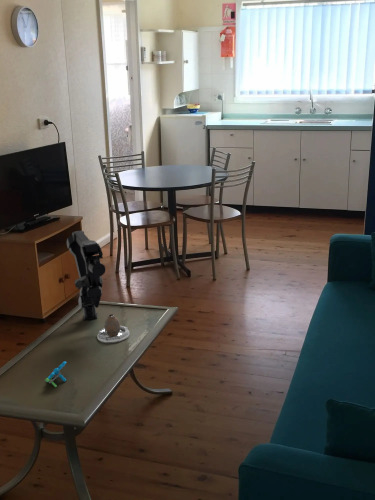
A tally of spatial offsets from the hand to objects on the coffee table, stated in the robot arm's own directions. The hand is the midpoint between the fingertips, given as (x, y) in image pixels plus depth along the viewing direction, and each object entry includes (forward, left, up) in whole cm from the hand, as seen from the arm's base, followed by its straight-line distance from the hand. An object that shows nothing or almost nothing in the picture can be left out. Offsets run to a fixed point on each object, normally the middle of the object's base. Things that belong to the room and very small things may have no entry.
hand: (97, 303), depth 256 cm
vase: (+10, +6, -11) cm, 16 cm away
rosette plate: (+10, +6, -12) cm, 17 cm away
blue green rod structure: (+45, -15, -12) cm, 49 cm away
